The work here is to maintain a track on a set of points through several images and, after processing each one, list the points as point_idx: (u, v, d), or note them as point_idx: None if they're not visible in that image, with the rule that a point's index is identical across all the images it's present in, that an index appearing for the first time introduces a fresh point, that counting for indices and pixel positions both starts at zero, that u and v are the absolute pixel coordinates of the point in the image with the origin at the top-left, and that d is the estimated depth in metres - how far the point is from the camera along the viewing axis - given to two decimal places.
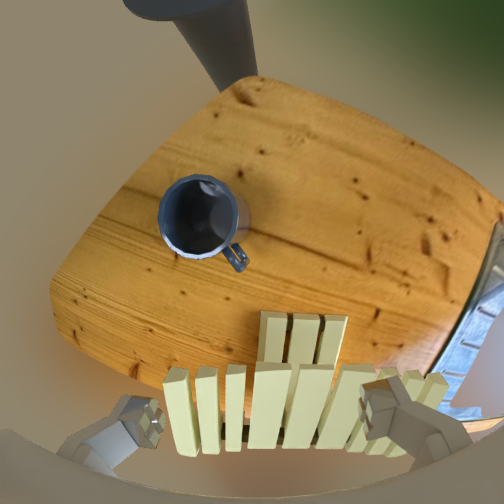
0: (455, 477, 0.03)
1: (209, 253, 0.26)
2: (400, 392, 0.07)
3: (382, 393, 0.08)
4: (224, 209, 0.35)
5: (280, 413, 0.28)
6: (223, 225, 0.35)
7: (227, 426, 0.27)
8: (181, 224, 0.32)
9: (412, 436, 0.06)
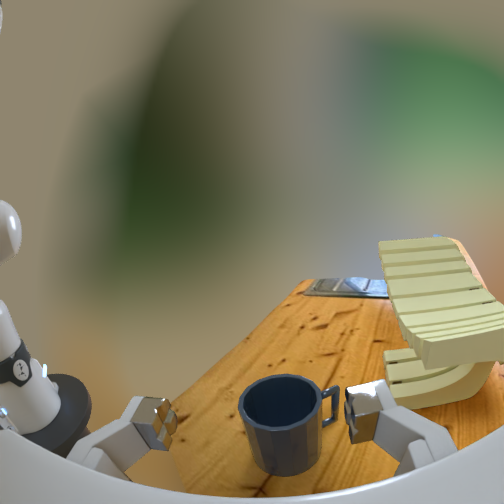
0: (455, 477, 0.03)
1: (317, 392, 0.24)
2: (385, 396, 0.07)
3: (367, 397, 0.08)
4: None
5: (451, 310, 0.26)
6: None
7: (483, 321, 0.19)
8: None
9: (397, 441, 0.06)
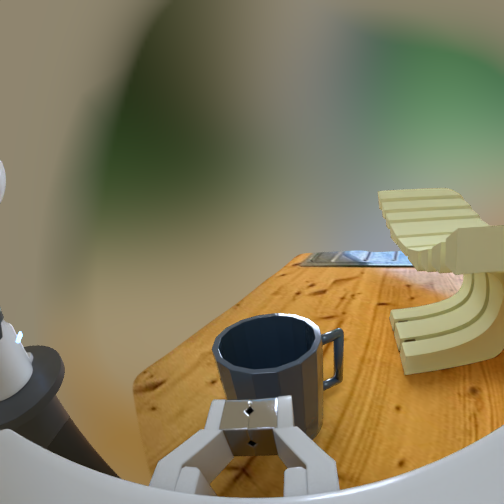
0: (455, 477, 0.03)
1: (315, 329, 0.20)
2: (284, 414, 0.08)
3: (265, 412, 0.08)
4: None
5: None
6: None
7: None
8: None
9: (291, 462, 0.06)
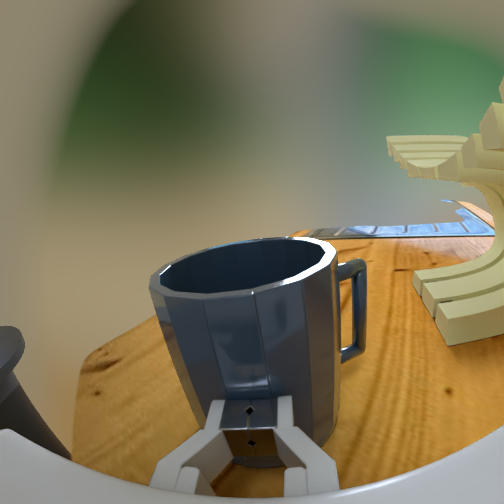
0: (455, 477, 0.03)
1: (323, 245, 0.12)
2: (284, 414, 0.08)
3: (265, 412, 0.08)
4: None
5: None
6: None
7: None
8: None
9: (291, 462, 0.06)
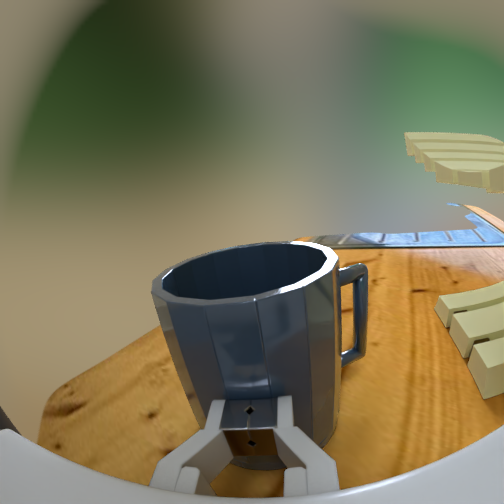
0: (455, 477, 0.03)
1: (325, 251, 0.12)
2: (284, 414, 0.08)
3: (265, 412, 0.08)
4: None
5: None
6: None
7: None
8: None
9: (291, 462, 0.06)
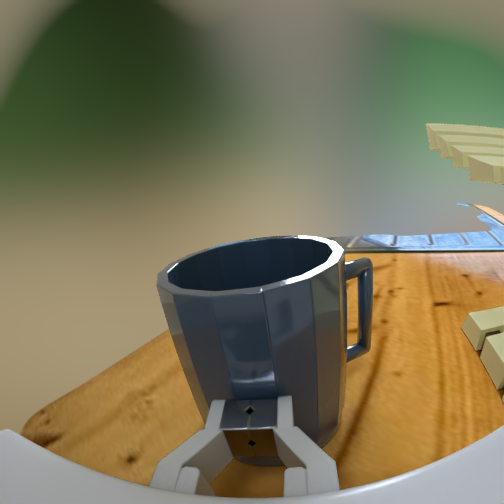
0: (455, 477, 0.03)
1: (330, 244, 0.12)
2: (284, 414, 0.08)
3: (265, 412, 0.08)
4: None
5: None
6: None
7: None
8: None
9: (291, 462, 0.06)
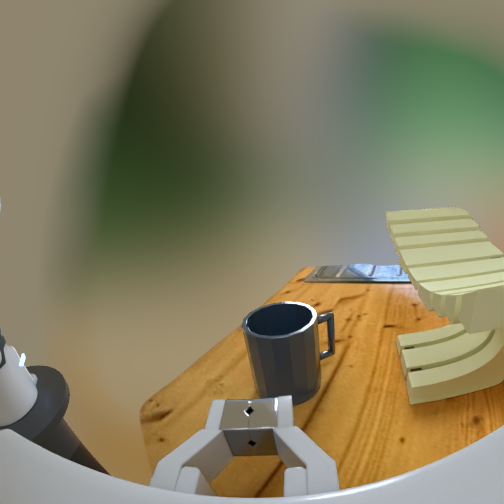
0: (455, 477, 0.03)
1: (312, 311, 0.29)
2: (284, 414, 0.08)
3: (265, 412, 0.08)
4: None
5: (477, 276, 0.20)
6: None
7: None
8: None
9: (291, 462, 0.06)
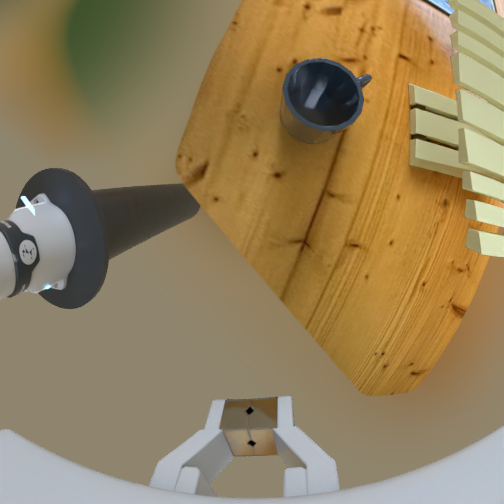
0: (455, 477, 0.03)
1: (358, 88, 0.22)
2: (284, 414, 0.08)
3: (265, 412, 0.08)
4: (303, 106, 0.32)
5: (503, 148, 0.19)
6: (319, 109, 0.32)
7: None
8: None
9: (291, 462, 0.06)
